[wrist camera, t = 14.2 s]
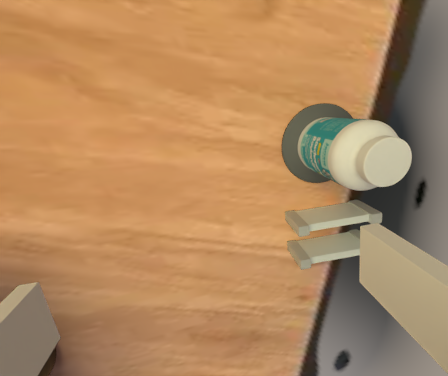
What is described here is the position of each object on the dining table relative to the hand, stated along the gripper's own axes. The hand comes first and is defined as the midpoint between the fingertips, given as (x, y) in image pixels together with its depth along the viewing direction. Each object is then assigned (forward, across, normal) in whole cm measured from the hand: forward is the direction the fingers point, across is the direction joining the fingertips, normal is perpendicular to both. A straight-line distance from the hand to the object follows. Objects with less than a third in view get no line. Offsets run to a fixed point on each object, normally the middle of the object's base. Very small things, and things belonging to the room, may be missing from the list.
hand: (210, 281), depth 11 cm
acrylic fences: (+27, +17, -12) cm, 34 cm away
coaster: (+27, +17, 0) cm, 32 cm away
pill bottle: (+26, +17, 0) cm, 32 cm away
